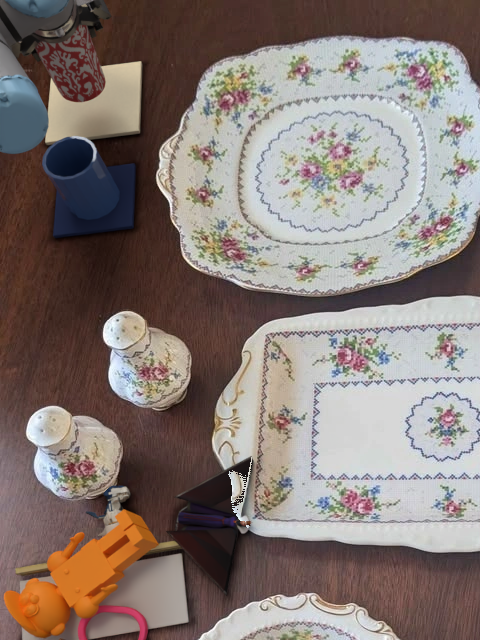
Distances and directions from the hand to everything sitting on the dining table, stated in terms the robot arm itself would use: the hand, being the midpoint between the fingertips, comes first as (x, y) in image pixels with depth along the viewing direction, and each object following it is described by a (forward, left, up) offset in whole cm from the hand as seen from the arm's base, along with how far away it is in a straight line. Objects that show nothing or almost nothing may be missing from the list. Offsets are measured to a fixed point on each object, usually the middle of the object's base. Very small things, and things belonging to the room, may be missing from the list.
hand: (62, 39), depth 120 cm
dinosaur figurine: (+9, -81, -7) cm, 81 cm away
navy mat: (+2, -23, -9) cm, 25 cm away
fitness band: (+8, -89, -9) cm, 90 cm away
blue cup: (+2, -23, -9) cm, 25 cm away
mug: (+1, -3, -5) cm, 6 cm away
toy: (+6, -83, -8) cm, 83 cm away
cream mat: (+1, -3, -9) cm, 10 cm away
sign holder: (+6, -80, -8) cm, 80 cm away
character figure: (+15, -76, -8) cm, 78 cm away
